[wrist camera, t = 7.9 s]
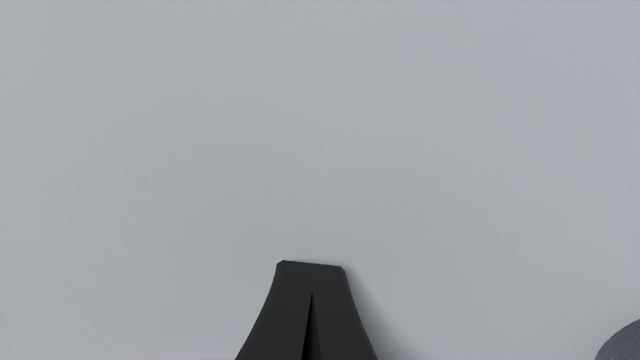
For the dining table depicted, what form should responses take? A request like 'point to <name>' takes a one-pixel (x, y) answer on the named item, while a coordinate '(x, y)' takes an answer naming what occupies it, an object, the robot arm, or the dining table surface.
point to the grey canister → (622, 344)
